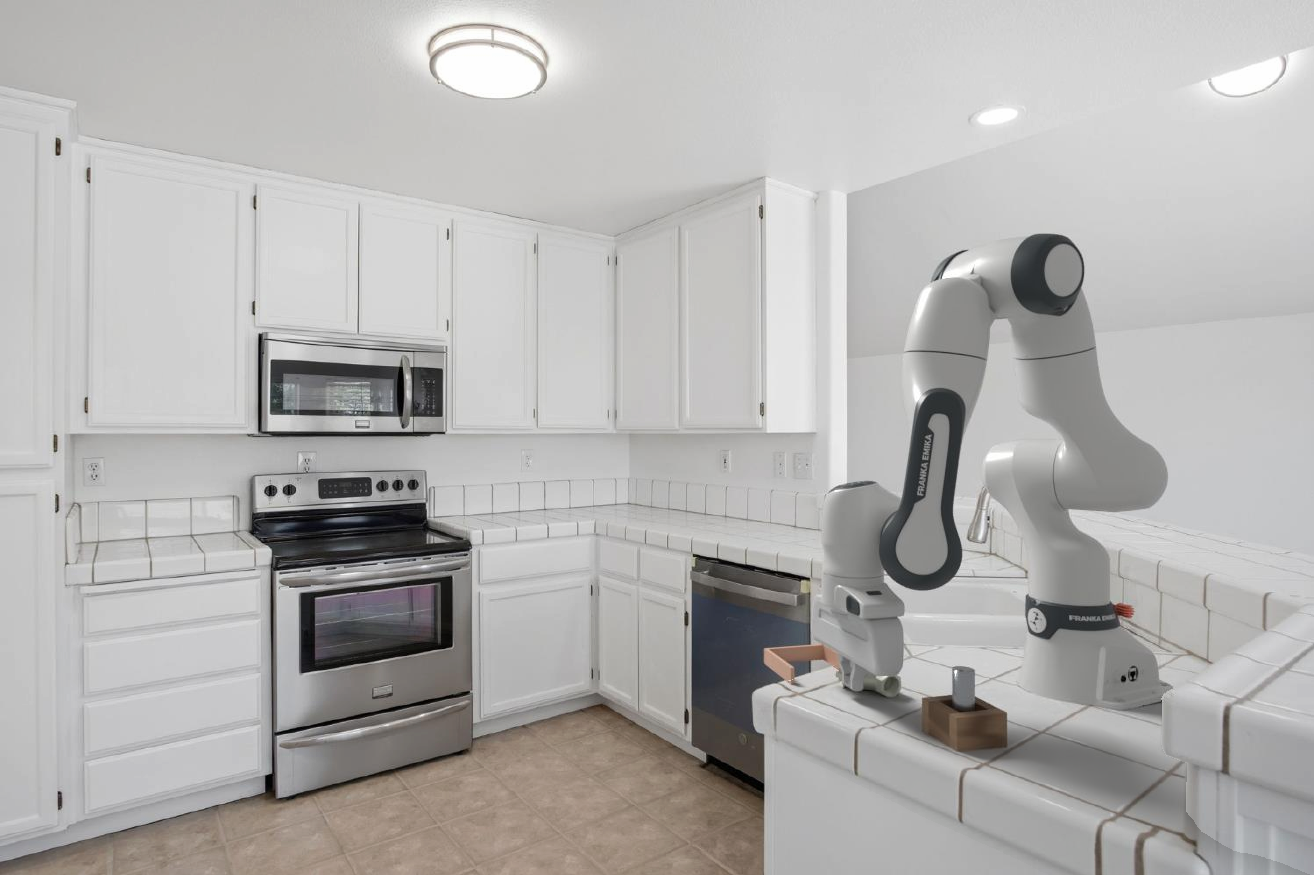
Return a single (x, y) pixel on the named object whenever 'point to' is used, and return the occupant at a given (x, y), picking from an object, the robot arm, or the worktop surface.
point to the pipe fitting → (879, 683)
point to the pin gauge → (963, 689)
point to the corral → (797, 658)
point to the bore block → (964, 724)
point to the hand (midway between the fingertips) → (852, 687)
